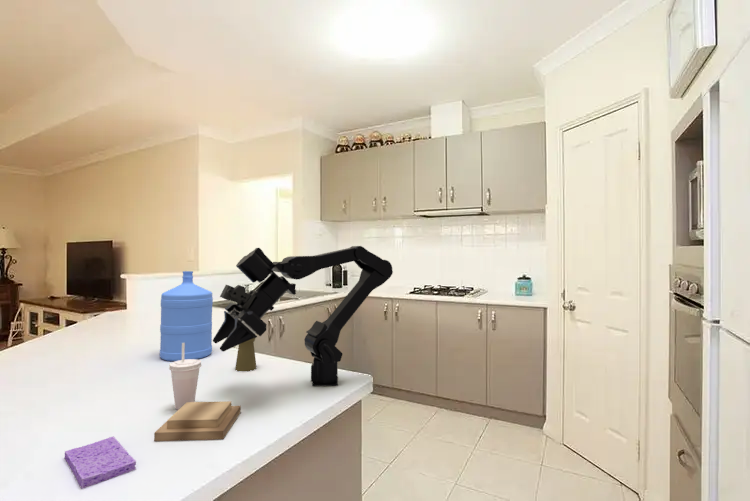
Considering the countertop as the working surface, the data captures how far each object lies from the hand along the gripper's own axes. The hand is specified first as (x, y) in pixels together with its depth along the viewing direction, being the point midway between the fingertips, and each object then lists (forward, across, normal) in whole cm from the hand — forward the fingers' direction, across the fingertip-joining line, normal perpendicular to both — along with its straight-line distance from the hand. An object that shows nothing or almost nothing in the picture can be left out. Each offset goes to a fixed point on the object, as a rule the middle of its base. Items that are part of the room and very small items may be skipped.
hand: (217, 346), depth 89 cm
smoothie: (+14, 0, +4) cm, 14 cm away
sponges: (+24, +19, -5) cm, 31 cm away
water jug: (+10, -48, +8) cm, 50 cm away
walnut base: (+12, +12, +6) cm, 18 cm away
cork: (0, -23, +18) cm, 29 cm away
